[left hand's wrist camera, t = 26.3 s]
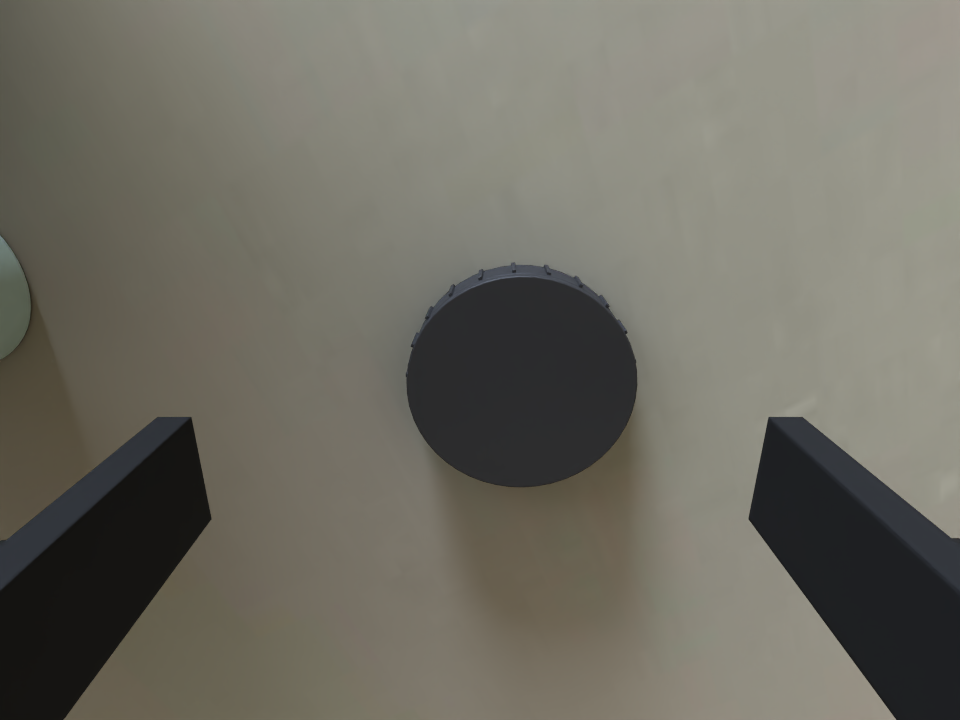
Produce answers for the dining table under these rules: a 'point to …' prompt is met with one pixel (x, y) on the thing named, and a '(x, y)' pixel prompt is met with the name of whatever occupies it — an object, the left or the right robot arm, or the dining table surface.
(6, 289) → the jar
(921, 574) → the left robot arm
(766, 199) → the dining table surface
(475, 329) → the lid
